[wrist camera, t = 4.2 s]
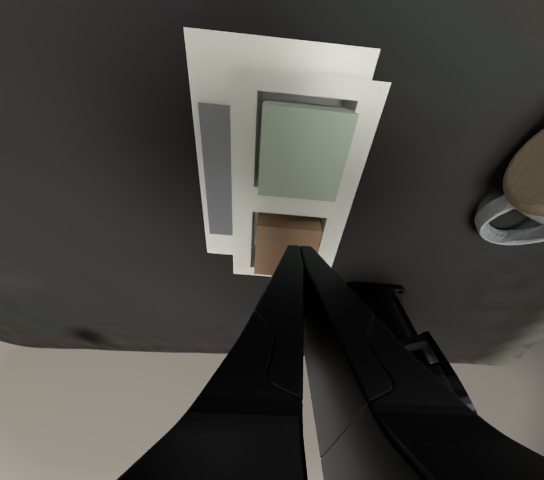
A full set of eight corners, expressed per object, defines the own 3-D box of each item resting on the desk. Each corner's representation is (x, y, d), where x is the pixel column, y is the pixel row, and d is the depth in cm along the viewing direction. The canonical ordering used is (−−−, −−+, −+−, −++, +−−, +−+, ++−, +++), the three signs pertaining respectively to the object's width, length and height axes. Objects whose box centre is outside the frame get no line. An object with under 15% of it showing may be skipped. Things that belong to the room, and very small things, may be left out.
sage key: (343, 106, 13) (359, 114, 10) (326, 181, 15) (335, 201, 13) (265, 98, 13) (262, 104, 10) (260, 175, 15) (257, 194, 13)
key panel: (374, 50, 14) (404, 42, 10) (319, 255, 23) (325, 285, 20) (189, 29, 13) (160, 15, 10) (209, 246, 23) (198, 275, 19)
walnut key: (316, 209, 18) (322, 231, 15) (306, 253, 20) (310, 278, 18) (259, 204, 17) (256, 226, 15) (257, 249, 20) (254, 273, 18)
